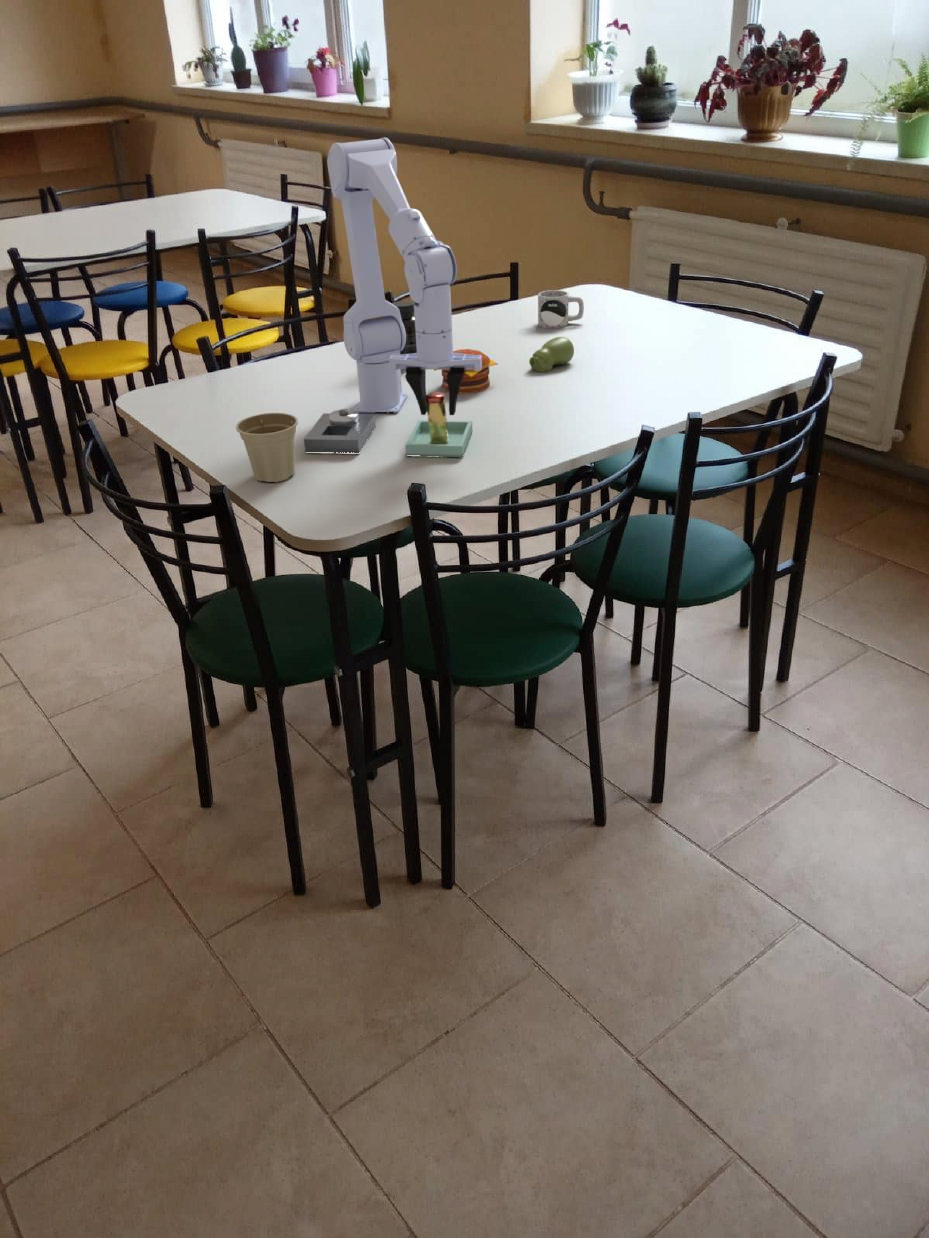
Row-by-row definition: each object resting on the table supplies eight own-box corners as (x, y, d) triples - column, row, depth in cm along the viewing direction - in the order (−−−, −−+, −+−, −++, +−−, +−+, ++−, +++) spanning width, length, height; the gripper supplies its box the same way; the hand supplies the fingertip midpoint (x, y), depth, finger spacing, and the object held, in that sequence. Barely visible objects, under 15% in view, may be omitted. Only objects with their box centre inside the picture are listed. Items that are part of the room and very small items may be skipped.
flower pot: (232, 477, 161) (223, 424, 157) (281, 459, 167) (274, 408, 162) (267, 493, 156) (259, 439, 151) (316, 474, 161) (310, 421, 157)
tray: (419, 431, 175) (418, 420, 174) (472, 432, 174) (472, 421, 173) (406, 457, 165) (405, 445, 164) (462, 458, 164) (462, 446, 163)
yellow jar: (432, 438, 171) (427, 392, 167) (450, 437, 170) (445, 392, 166) (429, 445, 168) (424, 399, 164) (447, 444, 168) (442, 398, 164)
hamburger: (458, 375, 200) (456, 341, 197) (500, 382, 196) (499, 348, 192) (430, 389, 194) (428, 354, 190) (473, 397, 189) (472, 361, 186)
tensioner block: (324, 427, 179) (322, 404, 176) (375, 428, 177) (373, 405, 175) (305, 453, 168) (302, 429, 166) (359, 454, 167) (356, 430, 165)
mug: (538, 329, 226) (538, 298, 222) (537, 320, 231) (537, 290, 228) (584, 327, 225) (585, 296, 222) (582, 319, 231) (583, 289, 227)
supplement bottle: (426, 358, 210) (422, 298, 204) (421, 368, 205) (417, 307, 198) (393, 358, 211) (388, 299, 205) (387, 369, 205) (382, 308, 199)
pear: (578, 336, 200) (541, 355, 196) (580, 361, 204) (544, 381, 199) (558, 330, 204) (521, 349, 200) (561, 355, 207) (525, 374, 203)
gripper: (382, 336, 157) (389, 421, 164) (476, 336, 155) (479, 422, 162) (392, 323, 163) (398, 406, 170) (482, 323, 161) (485, 406, 168)
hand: (438, 413), depth 167 cm, fingers open, 4 cm apart
